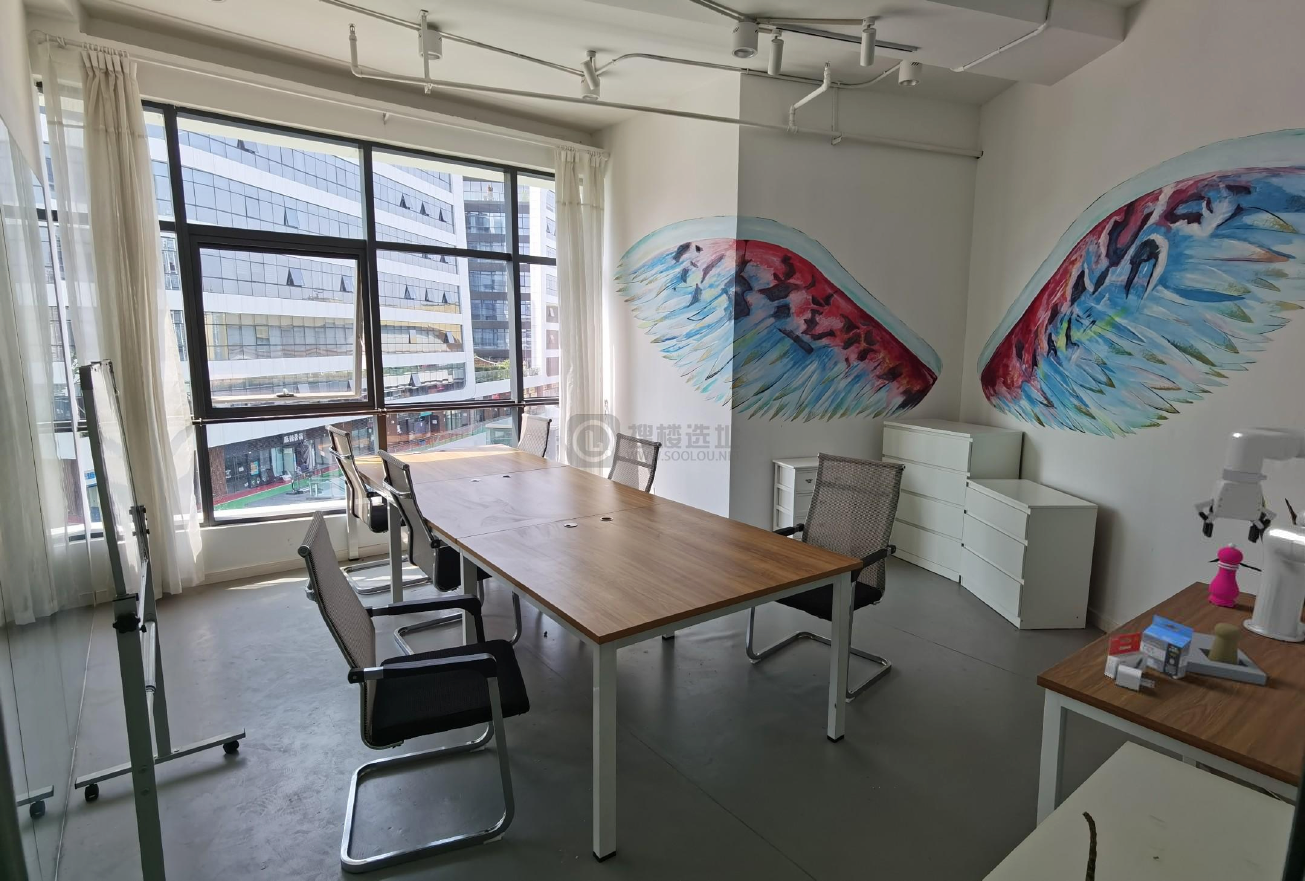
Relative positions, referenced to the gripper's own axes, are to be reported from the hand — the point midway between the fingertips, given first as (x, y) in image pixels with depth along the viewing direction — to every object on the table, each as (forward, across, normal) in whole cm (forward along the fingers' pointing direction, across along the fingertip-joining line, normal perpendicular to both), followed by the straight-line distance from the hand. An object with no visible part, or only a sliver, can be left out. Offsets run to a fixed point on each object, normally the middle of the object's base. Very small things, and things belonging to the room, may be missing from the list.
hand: (1229, 538), depth 176 cm
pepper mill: (+28, -13, -32) cm, 45 cm away
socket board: (+28, +7, +17) cm, 34 cm away
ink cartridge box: (+29, +29, +37) cm, 55 cm away
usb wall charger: (+29, +29, +44) cm, 59 cm away
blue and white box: (+29, +20, +30) cm, 46 cm away
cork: (+28, +5, +21) cm, 36 cm away
